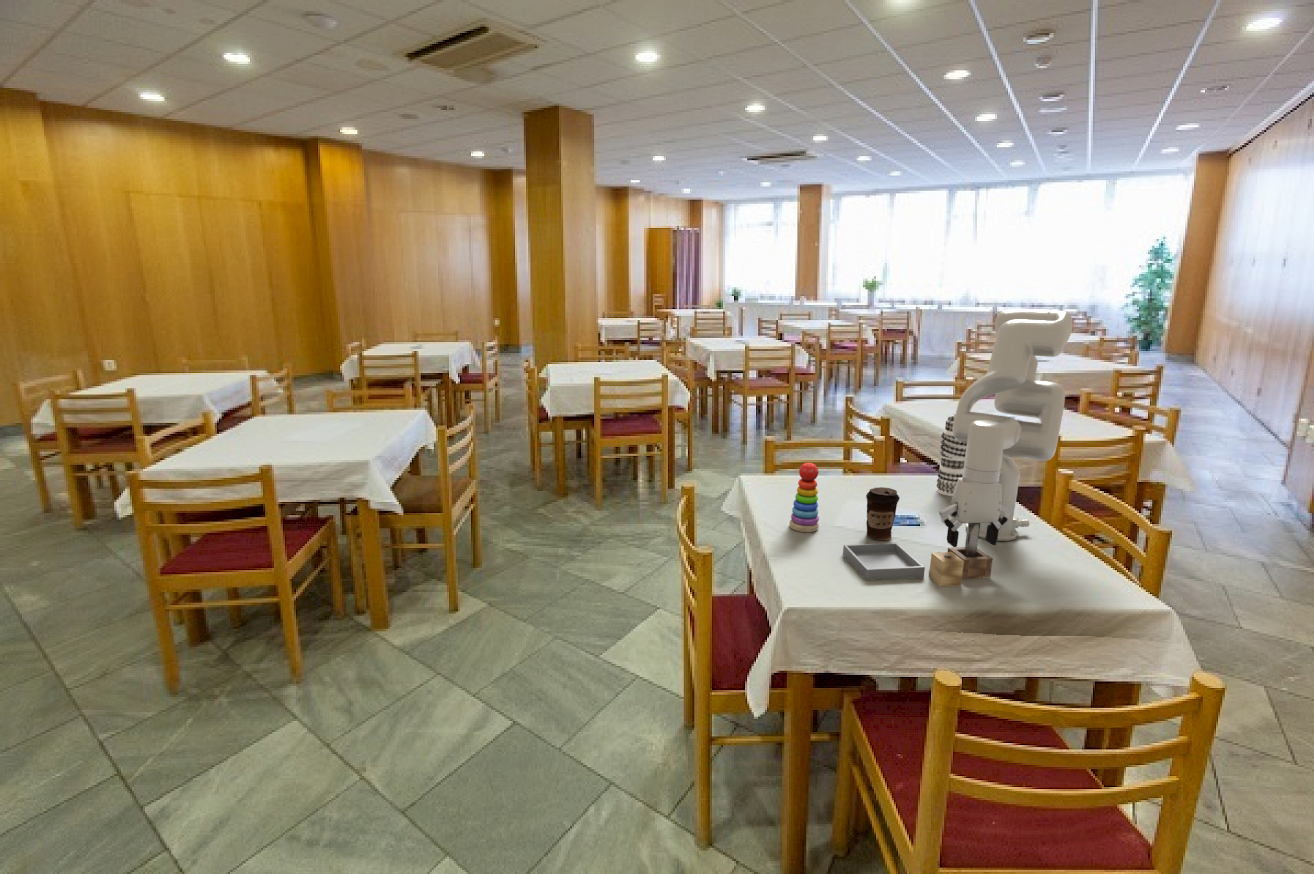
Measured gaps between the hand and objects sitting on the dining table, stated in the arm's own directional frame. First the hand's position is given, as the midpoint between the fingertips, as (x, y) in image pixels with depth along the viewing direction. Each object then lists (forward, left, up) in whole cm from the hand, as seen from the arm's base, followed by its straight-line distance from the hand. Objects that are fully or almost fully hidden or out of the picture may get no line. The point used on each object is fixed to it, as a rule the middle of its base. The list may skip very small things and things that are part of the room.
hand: (971, 543), depth 156 cm
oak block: (+8, +4, -7) cm, 12 cm away
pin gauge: (0, 0, -7) cm, 7 cm away
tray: (+19, -5, -7) cm, 21 cm away
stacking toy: (+30, -30, -7) cm, 43 cm away
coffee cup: (+12, -22, -7) cm, 26 cm away
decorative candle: (-27, -55, -7) cm, 62 cm away
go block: (0, 0, -7) cm, 7 cm away
